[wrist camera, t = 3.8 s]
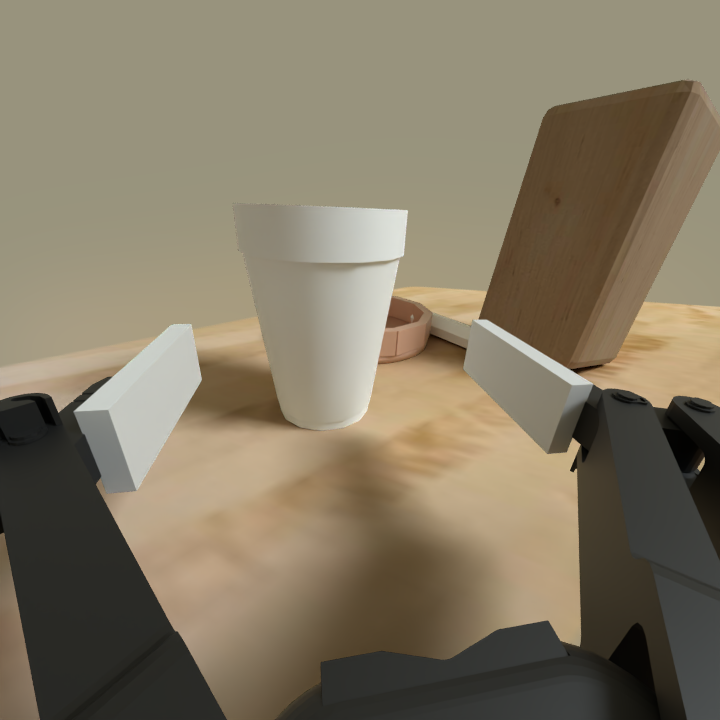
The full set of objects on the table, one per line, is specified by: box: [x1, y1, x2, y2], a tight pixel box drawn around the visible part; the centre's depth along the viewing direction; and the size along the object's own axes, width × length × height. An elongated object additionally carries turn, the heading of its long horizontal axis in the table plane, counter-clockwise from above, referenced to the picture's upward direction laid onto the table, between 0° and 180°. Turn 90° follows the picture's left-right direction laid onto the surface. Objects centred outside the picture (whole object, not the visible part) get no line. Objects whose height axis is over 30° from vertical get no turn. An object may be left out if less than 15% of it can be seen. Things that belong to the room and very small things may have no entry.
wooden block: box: [479, 79, 720, 369], centre depth 29 cm, size 10×10×20 cm
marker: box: [410, 312, 471, 348], centre depth 34 cm, size 3×2×16 cm
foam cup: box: [233, 203, 408, 431], centre depth 21 cm, size 10×9×13 cm
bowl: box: [378, 296, 433, 364], centre depth 36 cm, size 15×15×3 cm
